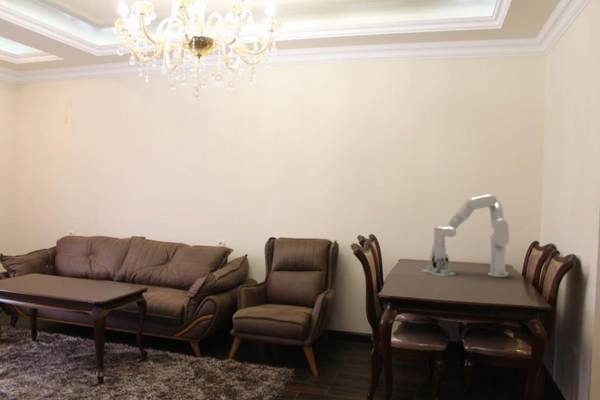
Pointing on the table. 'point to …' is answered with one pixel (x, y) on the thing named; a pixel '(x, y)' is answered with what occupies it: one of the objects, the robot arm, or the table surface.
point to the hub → (439, 264)
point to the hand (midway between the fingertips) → (438, 266)
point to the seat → (438, 271)
